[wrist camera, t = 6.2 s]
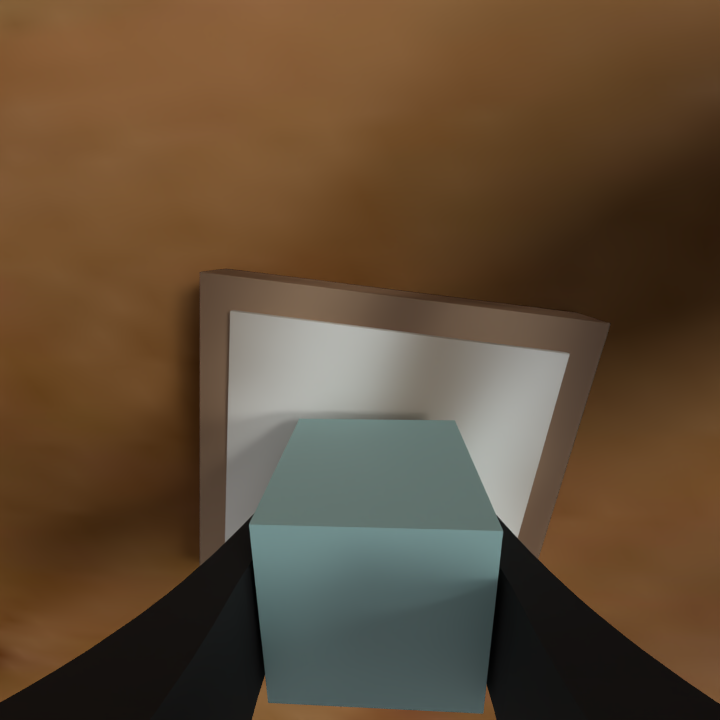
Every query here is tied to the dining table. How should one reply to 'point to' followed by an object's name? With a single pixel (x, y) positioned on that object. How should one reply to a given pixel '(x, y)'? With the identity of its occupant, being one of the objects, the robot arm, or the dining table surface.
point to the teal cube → (376, 568)
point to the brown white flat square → (386, 385)
